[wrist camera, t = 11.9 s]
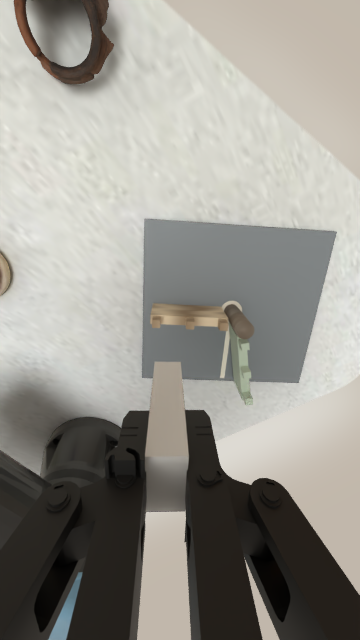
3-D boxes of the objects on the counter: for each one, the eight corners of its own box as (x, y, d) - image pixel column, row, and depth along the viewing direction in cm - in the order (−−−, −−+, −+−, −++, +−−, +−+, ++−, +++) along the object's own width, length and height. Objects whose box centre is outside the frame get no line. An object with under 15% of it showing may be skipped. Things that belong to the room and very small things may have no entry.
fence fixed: (239, 304, 39) (255, 323, 31) (237, 318, 39) (252, 339, 32) (153, 300, 38) (149, 318, 31) (152, 314, 39) (148, 335, 31)
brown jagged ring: (135, 0, 28) (125, 1, 22) (101, 96, 34) (88, 114, 29) (8, -124, 22) (-43, -162, 17) (-4, 16, 28) (-45, 19, 23)
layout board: (297, 381, 44) (298, 383, 44) (142, 376, 43) (142, 378, 42) (334, 231, 36) (337, 231, 35) (144, 218, 35) (144, 218, 34)
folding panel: (228, 322, 39) (240, 342, 33) (236, 321, 39) (249, 340, 33) (233, 379, 42) (245, 407, 36) (241, 378, 42) (253, 405, 36)
